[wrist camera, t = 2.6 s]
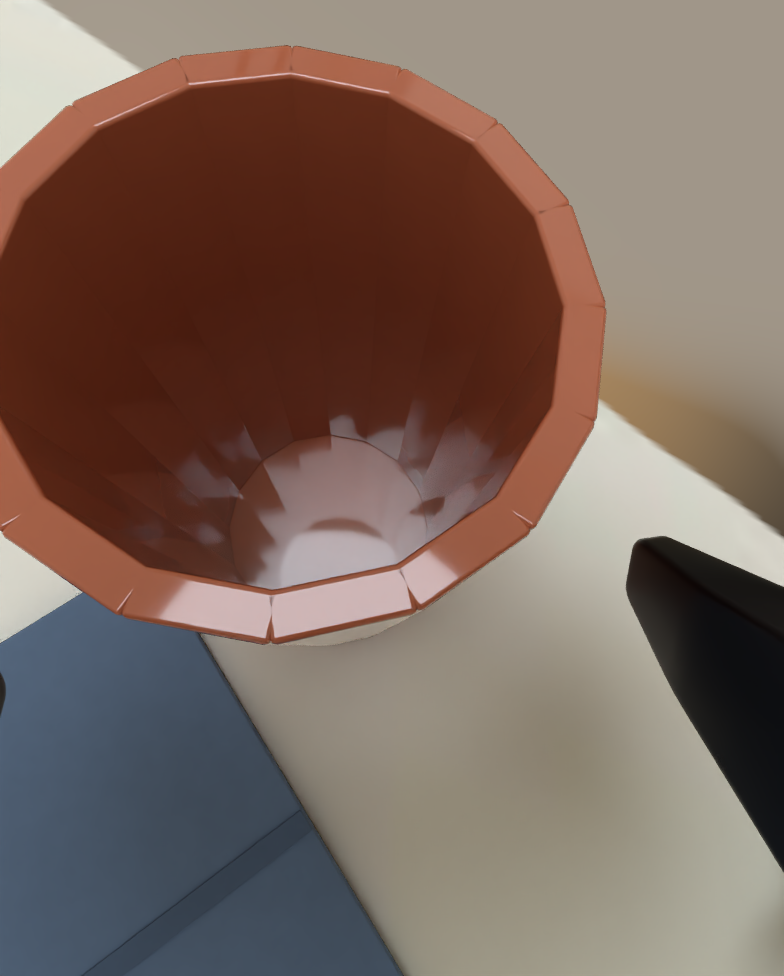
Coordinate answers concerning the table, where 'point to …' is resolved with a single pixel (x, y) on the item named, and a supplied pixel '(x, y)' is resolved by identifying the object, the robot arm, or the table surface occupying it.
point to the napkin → (154, 818)
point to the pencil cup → (285, 345)
